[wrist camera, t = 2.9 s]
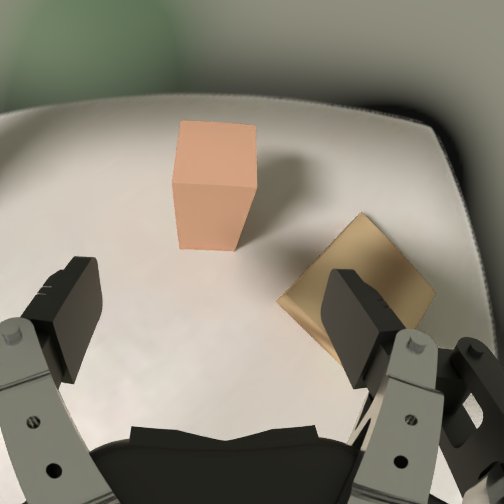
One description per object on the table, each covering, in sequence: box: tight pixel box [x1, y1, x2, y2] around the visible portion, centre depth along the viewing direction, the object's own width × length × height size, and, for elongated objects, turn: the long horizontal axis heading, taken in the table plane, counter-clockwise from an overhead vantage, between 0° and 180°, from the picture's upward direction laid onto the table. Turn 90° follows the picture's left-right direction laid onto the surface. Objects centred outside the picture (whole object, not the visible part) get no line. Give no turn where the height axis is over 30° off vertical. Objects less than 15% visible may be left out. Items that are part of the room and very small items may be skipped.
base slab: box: [276, 212, 436, 367], centre depth 22 cm, size 9×9×3 cm
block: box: [172, 120, 257, 251], centre depth 19 cm, size 4×4×9 cm
